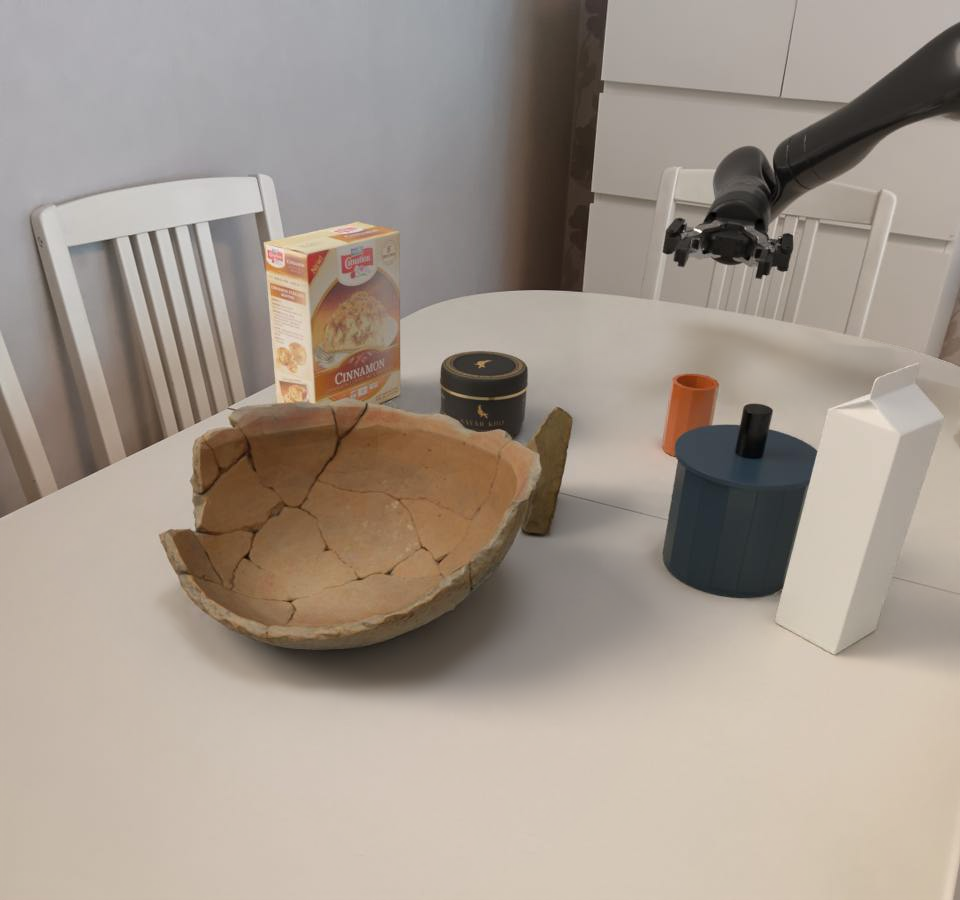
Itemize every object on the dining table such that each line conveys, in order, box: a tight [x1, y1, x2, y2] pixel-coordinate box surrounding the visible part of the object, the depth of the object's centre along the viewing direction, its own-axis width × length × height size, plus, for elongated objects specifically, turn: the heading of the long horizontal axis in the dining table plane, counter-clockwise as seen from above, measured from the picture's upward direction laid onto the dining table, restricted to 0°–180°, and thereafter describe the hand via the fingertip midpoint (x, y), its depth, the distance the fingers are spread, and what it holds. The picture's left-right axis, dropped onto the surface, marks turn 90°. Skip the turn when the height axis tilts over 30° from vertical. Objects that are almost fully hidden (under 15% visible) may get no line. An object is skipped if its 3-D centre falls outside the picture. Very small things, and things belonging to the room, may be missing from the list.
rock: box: [521, 406, 574, 535], centre depth 95 cm, size 11×9×10 cm
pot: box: [662, 460, 809, 598], centre depth 86 cm, size 12×12×10 cm
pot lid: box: [674, 403, 818, 491], centre depth 82 cm, size 13×13×5 cm
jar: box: [439, 350, 529, 438], centre depth 111 cm, size 10×10×8 cm
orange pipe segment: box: [661, 372, 720, 458], centre depth 108 cm, size 5×5×8 cm
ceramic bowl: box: [158, 398, 541, 651], centre depth 80 cm, size 30×27×15 cm
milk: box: [774, 362, 945, 656], centre depth 75 cm, size 6×6×22 cm
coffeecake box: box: [263, 221, 402, 405], centre depth 112 cm, size 15×7×20 cm, turn 143°
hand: (721, 263), depth 106 cm, fingers open, 8 cm apart
